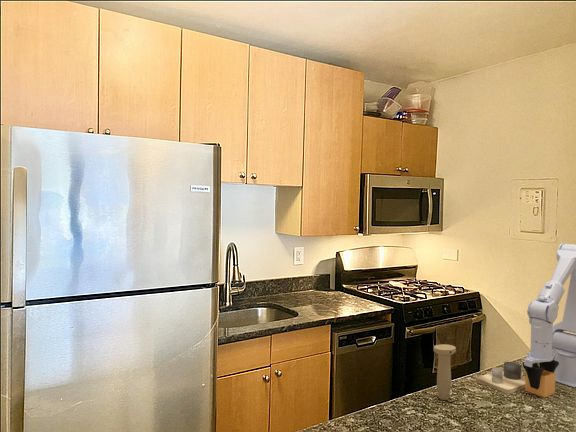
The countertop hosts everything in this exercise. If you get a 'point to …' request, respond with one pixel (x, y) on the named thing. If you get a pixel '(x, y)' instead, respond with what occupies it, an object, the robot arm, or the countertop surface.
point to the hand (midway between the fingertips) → (540, 385)
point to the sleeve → (543, 384)
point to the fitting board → (504, 378)
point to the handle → (444, 369)
